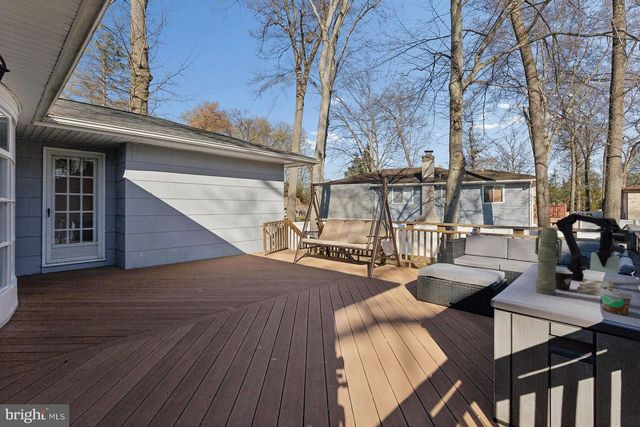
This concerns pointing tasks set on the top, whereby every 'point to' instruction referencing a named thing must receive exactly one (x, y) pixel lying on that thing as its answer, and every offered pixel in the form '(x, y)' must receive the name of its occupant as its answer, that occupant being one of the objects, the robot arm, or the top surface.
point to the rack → (592, 291)
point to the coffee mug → (563, 279)
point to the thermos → (547, 260)
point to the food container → (615, 301)
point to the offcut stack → (593, 285)
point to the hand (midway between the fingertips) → (604, 266)
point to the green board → (610, 266)
